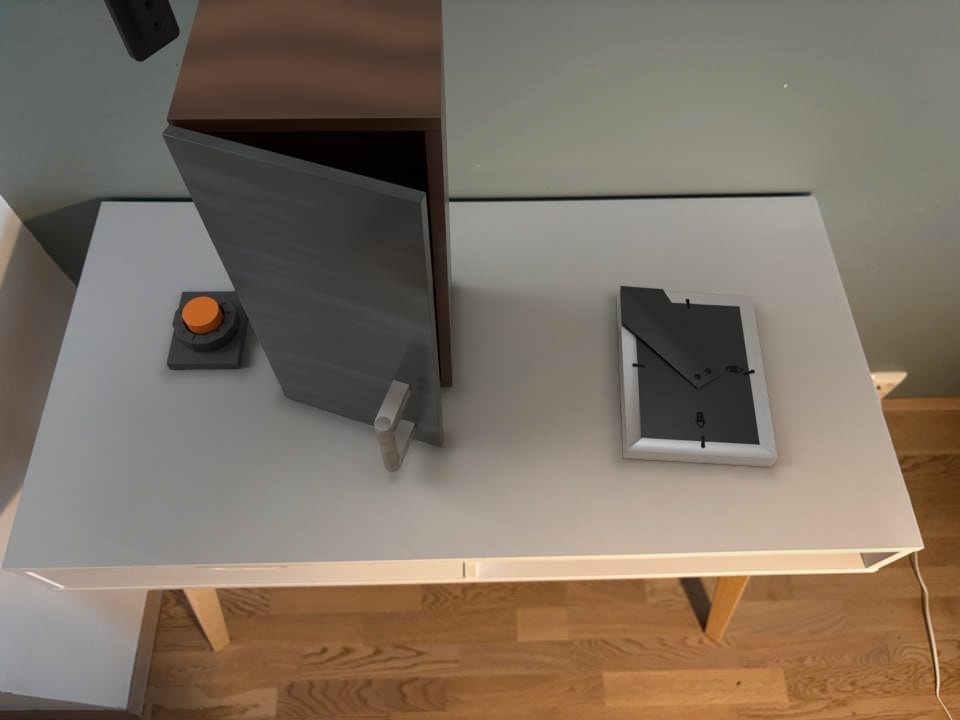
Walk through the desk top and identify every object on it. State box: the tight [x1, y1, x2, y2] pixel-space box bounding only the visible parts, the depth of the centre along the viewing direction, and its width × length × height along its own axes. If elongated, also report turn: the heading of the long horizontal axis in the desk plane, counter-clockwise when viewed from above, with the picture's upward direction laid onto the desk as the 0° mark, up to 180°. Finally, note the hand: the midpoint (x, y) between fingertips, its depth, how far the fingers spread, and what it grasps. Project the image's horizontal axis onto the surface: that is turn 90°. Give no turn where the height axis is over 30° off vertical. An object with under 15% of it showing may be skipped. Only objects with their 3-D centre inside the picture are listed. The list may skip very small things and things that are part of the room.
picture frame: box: [616, 285, 779, 468], centre depth 82 cm, size 16×3×21 cm
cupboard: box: [165, 0, 454, 387], centre depth 69 cm, size 14×18×38 cm
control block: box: [166, 290, 249, 370], centre depth 85 cm, size 10×8×3 cm
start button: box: [182, 297, 223, 334], centre depth 83 cm, size 4×4×2 cm
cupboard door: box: [161, 124, 445, 473], centre depth 63 cm, size 6×18×38 cm, turn 71°
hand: (98, 15), depth 42 cm, fingers open, 9 cm apart
